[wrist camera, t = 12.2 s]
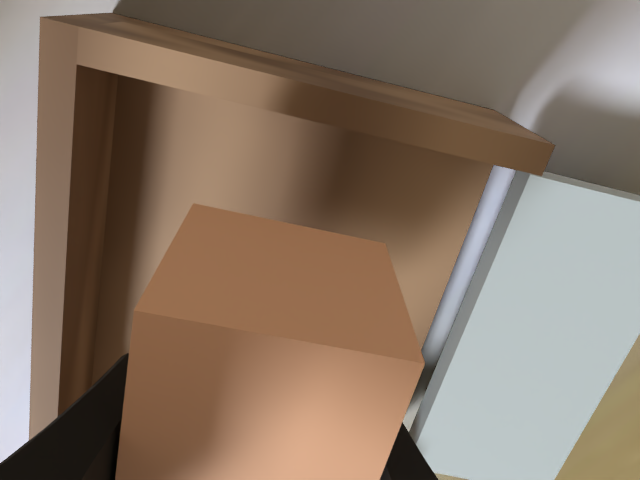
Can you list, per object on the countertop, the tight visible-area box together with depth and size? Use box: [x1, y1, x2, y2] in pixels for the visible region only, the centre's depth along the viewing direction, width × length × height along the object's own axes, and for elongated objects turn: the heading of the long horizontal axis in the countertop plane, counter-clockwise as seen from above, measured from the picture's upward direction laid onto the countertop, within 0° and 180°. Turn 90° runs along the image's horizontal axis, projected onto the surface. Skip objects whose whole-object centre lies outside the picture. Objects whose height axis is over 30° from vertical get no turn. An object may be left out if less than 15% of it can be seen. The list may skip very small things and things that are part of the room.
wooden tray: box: [29, 13, 555, 440], centre depth 17 cm, size 12×14×4 cm
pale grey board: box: [409, 170, 640, 480], centre depth 18 cm, size 2×12×6 cm
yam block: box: [115, 203, 425, 480], centre depth 10 cm, size 4×7×4 cm, turn 167°
